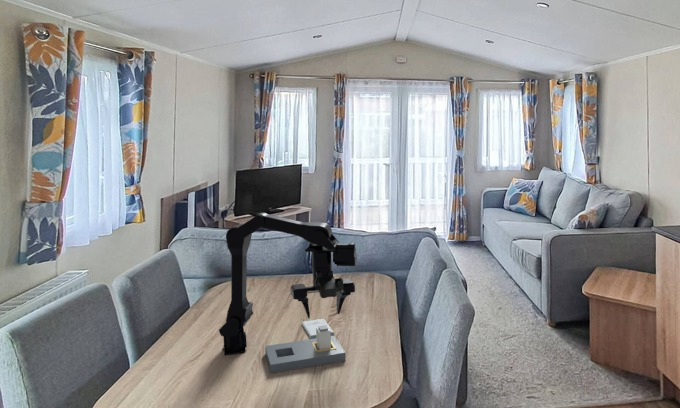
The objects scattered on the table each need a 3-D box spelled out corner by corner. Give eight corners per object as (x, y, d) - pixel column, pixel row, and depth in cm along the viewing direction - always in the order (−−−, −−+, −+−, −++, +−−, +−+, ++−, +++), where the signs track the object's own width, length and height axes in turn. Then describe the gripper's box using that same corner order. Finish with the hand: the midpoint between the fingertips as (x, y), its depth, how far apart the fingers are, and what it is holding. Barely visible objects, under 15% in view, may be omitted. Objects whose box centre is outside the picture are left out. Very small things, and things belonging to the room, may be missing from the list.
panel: (270, 373, 120) (270, 364, 120) (265, 353, 131) (265, 345, 131) (345, 360, 126) (345, 351, 126) (334, 343, 138) (334, 335, 137)
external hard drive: (310, 340, 141) (301, 325, 153) (334, 336, 144) (323, 322, 155) (310, 335, 141) (301, 321, 152) (334, 331, 143) (323, 318, 155)
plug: (319, 357, 128) (318, 330, 127) (316, 352, 132) (316, 325, 130) (331, 355, 129) (330, 328, 128) (328, 350, 133) (327, 324, 131)
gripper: (296, 276, 116) (298, 331, 118) (360, 269, 122) (361, 321, 124) (289, 266, 127) (291, 316, 129) (348, 260, 132) (349, 308, 134)
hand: (323, 315), depth 129 cm, fingers open, 9 cm apart
